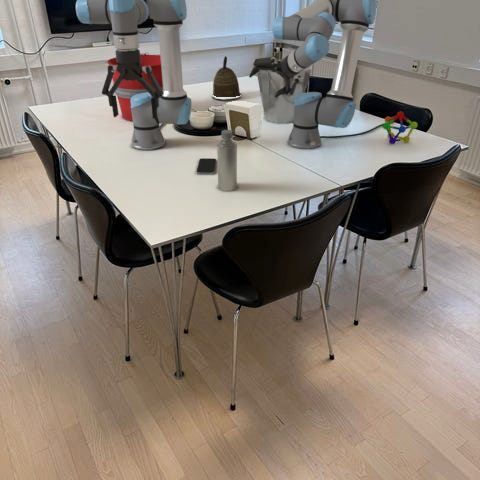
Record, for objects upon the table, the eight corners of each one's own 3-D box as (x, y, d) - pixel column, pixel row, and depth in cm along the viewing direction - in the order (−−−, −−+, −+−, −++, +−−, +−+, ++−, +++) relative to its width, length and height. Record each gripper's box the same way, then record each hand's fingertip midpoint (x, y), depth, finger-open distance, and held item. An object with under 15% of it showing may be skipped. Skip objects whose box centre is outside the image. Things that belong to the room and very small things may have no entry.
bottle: (239, 189, 167) (240, 134, 155) (222, 192, 164) (221, 136, 153) (232, 182, 172) (232, 128, 161) (215, 185, 170) (214, 130, 158)
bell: (227, 105, 294) (202, 96, 282) (238, 66, 289) (213, 55, 277) (243, 108, 280) (217, 98, 268) (255, 66, 275) (229, 55, 263)
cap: (234, 138, 157) (234, 132, 156) (223, 139, 156) (223, 133, 155) (229, 135, 160) (229, 129, 159) (219, 136, 159) (219, 130, 158)
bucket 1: (121, 106, 263) (114, 51, 247) (180, 106, 262) (176, 52, 246) (104, 123, 233) (95, 63, 217) (170, 124, 232) (166, 64, 216)
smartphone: (196, 172, 178) (199, 158, 191) (196, 173, 178) (199, 159, 191) (214, 172, 178) (216, 158, 191) (214, 174, 178) (216, 159, 191)
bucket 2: (281, 130, 226) (284, 73, 211) (242, 117, 244) (243, 64, 230) (319, 119, 242) (324, 65, 228) (280, 107, 261) (283, 57, 246)
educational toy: (377, 146, 209) (379, 114, 202) (384, 138, 219) (386, 107, 211) (411, 149, 202) (415, 116, 195) (417, 141, 212) (420, 109, 204)
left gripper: (84, 50, 136) (95, 118, 148) (163, 52, 134) (168, 121, 145) (93, 46, 143) (104, 112, 154) (169, 48, 140) (174, 114, 152)
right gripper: (265, 49, 156) (236, 73, 174) (315, 91, 166) (283, 109, 185) (272, 33, 158) (243, 58, 176) (322, 75, 168) (289, 95, 187)
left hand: (135, 116), depth 150 cm, fingers open, 13 cm apart
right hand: (263, 84), depth 181 cm, fingers open, 13 cm apart
